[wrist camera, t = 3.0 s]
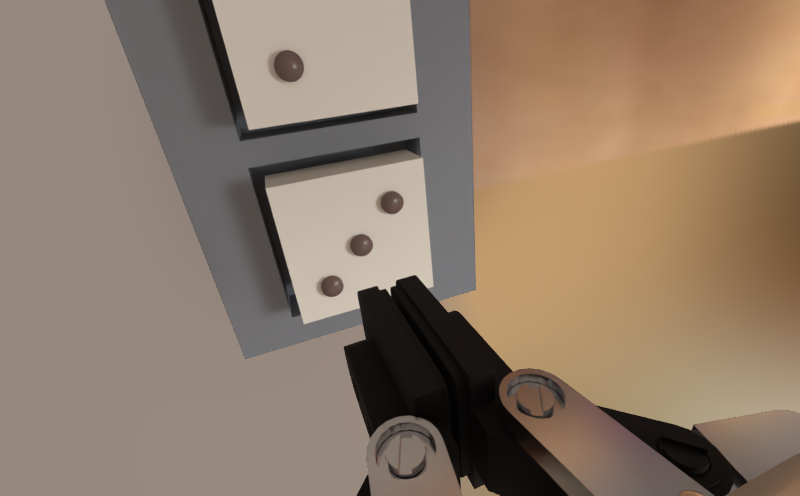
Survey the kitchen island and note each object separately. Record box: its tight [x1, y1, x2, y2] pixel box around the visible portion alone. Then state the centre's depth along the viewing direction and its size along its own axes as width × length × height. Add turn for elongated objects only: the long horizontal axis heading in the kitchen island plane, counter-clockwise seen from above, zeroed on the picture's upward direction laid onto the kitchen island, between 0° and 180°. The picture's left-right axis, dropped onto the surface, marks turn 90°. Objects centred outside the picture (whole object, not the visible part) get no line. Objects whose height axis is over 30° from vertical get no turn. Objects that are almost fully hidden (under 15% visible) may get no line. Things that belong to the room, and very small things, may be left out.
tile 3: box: [265, 149, 434, 324], centre depth 16 cm, size 6×6×2 cm
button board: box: [105, 0, 476, 359], centre depth 14 cm, size 12×26×4 cm, turn 7°
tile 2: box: [212, 0, 418, 130], centre depth 12 cm, size 6×6×2 cm
